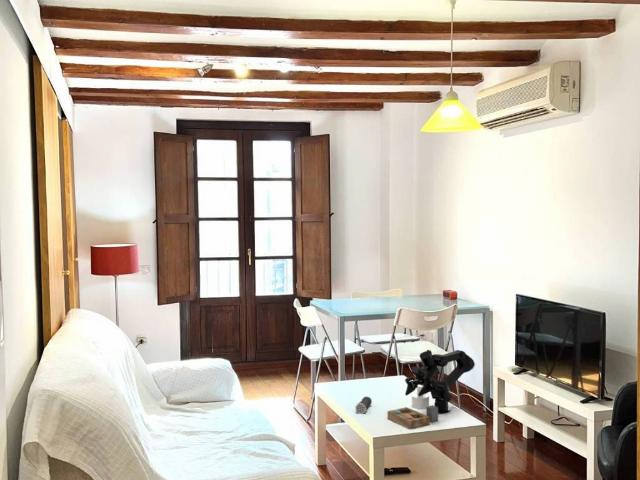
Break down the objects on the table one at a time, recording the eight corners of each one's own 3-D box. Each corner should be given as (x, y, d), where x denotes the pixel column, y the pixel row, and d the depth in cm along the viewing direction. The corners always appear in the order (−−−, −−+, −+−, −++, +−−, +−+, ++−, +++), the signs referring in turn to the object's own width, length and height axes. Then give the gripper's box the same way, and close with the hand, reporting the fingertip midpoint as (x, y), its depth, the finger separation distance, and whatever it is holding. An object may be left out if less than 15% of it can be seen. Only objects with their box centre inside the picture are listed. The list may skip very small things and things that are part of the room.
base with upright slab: (428, 409, 339) (428, 387, 339) (411, 408, 341) (411, 386, 340) (429, 404, 348) (429, 382, 347) (412, 403, 350) (412, 381, 349)
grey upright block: (432, 419, 324) (432, 405, 324) (438, 421, 321) (438, 407, 320) (426, 420, 322) (426, 406, 322) (431, 422, 319) (431, 408, 318)
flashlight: (362, 405, 349) (362, 395, 349) (372, 405, 347) (372, 395, 347) (355, 413, 334) (355, 403, 334) (365, 414, 333) (365, 404, 332)
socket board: (406, 414, 331) (406, 406, 331) (429, 424, 315) (429, 415, 315) (387, 419, 325) (387, 409, 324) (410, 429, 309) (410, 419, 309)
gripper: (407, 361, 334) (391, 382, 325) (433, 361, 319) (417, 383, 310) (419, 377, 336) (402, 399, 328) (445, 378, 321) (428, 400, 313)
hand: (412, 395), depth 320 cm, fingers open, 9 cm apart
